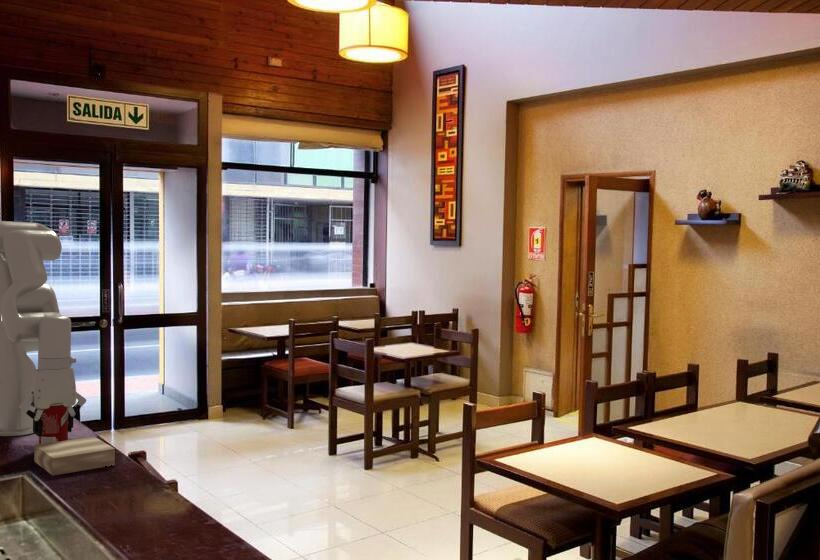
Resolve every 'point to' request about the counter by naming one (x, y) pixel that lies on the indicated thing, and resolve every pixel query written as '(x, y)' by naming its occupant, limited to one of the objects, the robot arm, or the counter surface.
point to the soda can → (54, 424)
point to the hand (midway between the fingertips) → (53, 432)
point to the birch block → (74, 455)
